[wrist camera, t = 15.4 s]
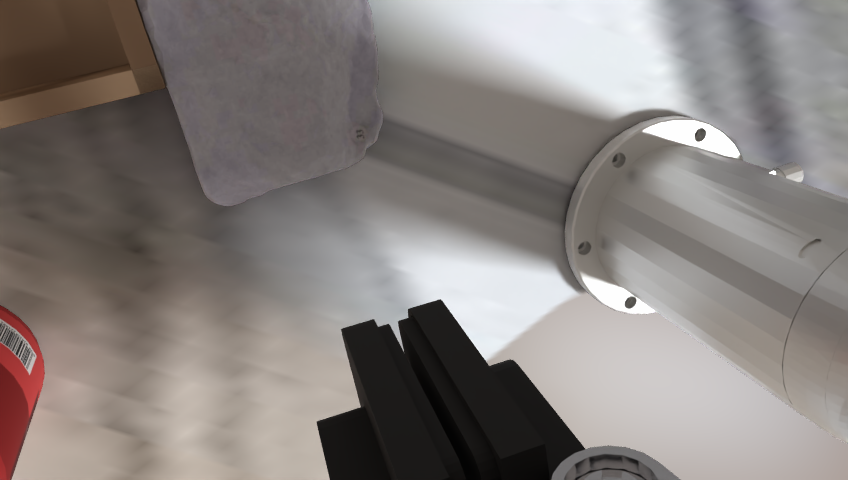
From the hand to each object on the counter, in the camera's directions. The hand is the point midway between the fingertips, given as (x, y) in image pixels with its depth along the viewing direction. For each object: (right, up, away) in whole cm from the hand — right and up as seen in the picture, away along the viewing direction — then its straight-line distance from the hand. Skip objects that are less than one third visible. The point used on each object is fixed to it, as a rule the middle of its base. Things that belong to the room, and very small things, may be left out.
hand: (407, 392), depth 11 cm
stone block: (-7, +11, +22) cm, 26 cm away
